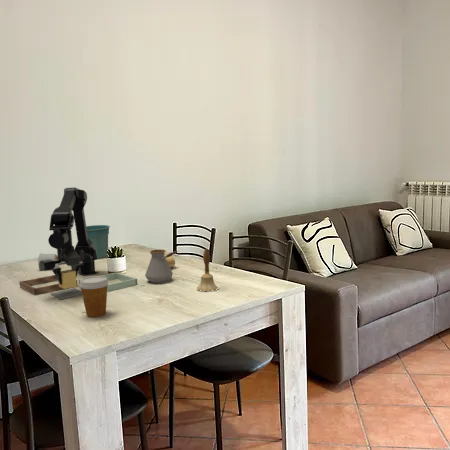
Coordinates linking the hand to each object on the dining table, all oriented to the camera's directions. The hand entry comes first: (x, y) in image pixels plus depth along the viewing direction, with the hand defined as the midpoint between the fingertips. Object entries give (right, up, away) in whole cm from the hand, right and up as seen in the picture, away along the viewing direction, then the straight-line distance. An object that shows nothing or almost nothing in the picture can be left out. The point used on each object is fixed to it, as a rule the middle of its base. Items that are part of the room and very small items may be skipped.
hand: (67, 283), depth 189 cm
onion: (+34, +2, +39) cm, 52 cm away
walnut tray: (-12, -3, +13) cm, 17 cm away
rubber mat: (0, -4, +1) cm, 4 cm away
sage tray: (+13, -2, +12) cm, 18 cm away
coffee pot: (+36, -2, +12) cm, 38 cm away
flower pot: (-8, +5, +71) cm, 71 cm away
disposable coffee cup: (+18, -8, -25) cm, 32 cm away
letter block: (0, -1, 0) cm, 1 cm away
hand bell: (+54, -3, +1) cm, 54 cm away
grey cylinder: (-24, +1, +48) cm, 53 cm away
